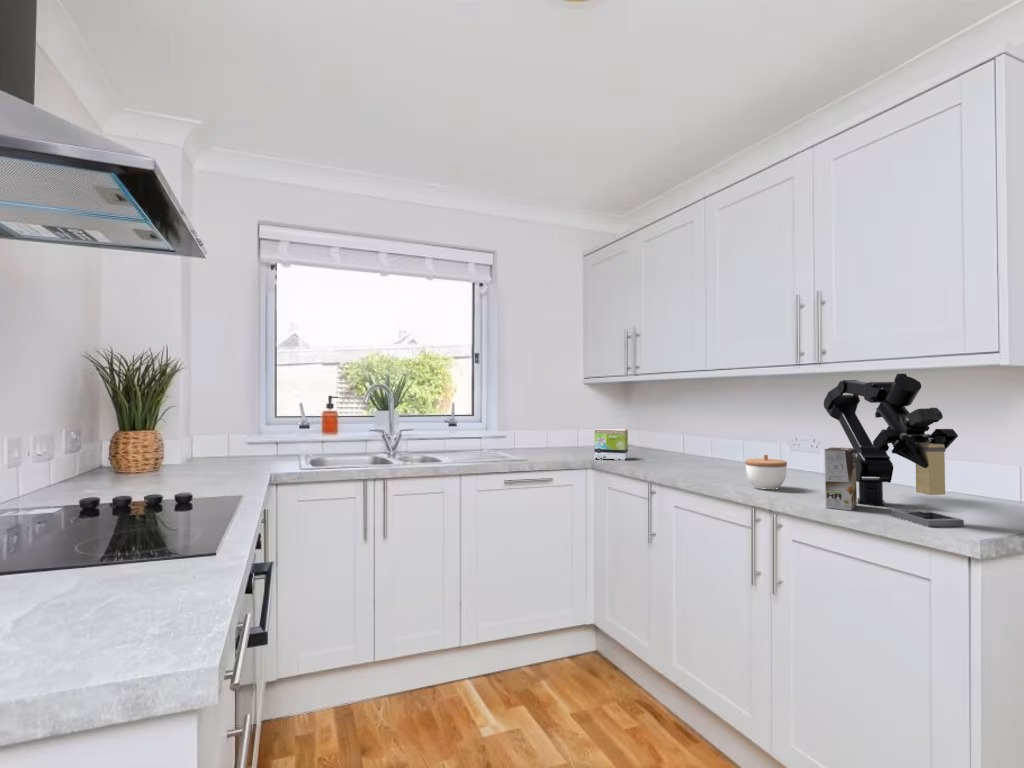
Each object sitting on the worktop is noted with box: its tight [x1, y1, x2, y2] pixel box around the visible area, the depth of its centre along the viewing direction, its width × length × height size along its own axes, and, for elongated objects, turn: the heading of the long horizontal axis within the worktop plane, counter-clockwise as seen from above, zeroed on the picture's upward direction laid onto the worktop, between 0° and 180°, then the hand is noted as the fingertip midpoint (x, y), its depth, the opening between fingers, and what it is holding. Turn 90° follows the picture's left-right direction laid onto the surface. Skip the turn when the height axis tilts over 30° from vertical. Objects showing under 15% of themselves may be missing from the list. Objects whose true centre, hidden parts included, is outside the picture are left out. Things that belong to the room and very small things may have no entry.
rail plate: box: [890, 509, 965, 528], centre depth 136 cm, size 12×8×2 cm
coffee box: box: [824, 446, 858, 511], centre depth 154 cm, size 9×6×16 cm
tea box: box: [593, 427, 629, 460], centre depth 271 cm, size 15×10×15 cm, turn 72°
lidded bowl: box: [744, 454, 788, 489], centre depth 185 cm, size 13×13×11 cm
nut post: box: [915, 443, 947, 496], centre depth 135 cm, size 4×4×12 cm
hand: (934, 466), depth 134 cm, fingers closed on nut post, 4 cm apart
